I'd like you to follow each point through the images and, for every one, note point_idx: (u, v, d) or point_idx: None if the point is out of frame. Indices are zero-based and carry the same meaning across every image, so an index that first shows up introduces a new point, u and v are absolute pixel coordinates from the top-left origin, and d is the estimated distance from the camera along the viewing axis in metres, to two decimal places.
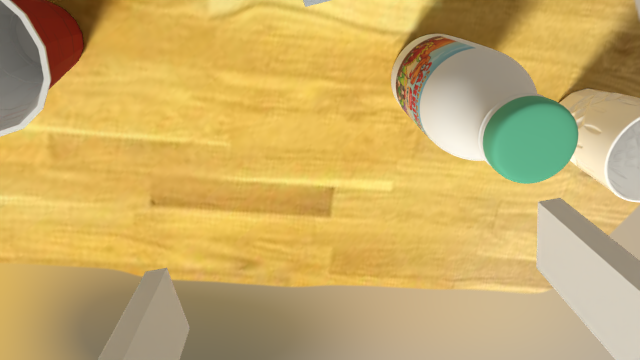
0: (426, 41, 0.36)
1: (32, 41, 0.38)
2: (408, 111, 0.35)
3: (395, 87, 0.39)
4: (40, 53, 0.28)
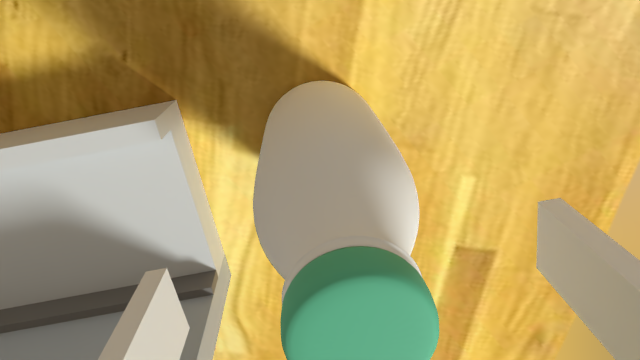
0: None
1: None
2: None
3: None
4: None
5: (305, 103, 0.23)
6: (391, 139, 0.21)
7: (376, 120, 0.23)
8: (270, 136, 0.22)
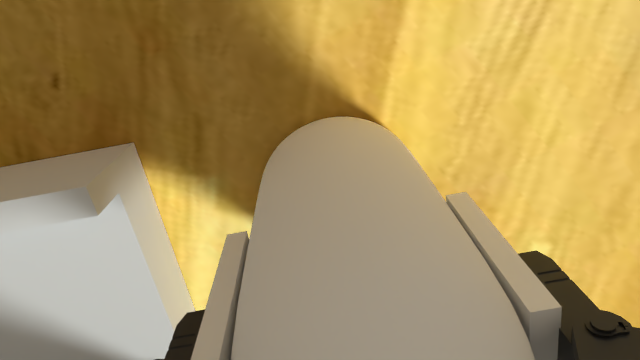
0: None
1: None
2: None
3: None
4: None
5: (321, 167, 0.14)
6: (470, 239, 0.12)
7: (438, 197, 0.14)
8: (264, 227, 0.13)
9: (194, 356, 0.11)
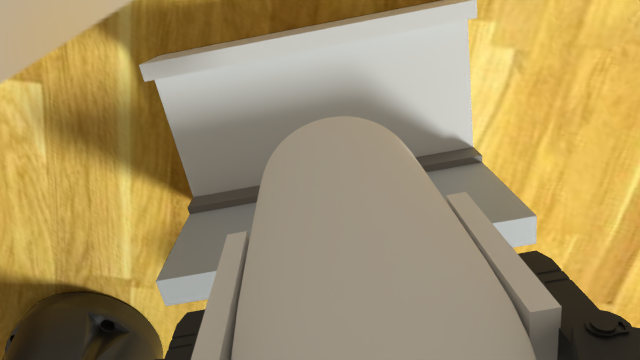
0: None
1: None
2: None
3: None
4: None
5: (322, 166, 0.14)
6: (471, 239, 0.12)
7: (439, 197, 0.14)
8: (264, 227, 0.13)
9: (194, 356, 0.11)
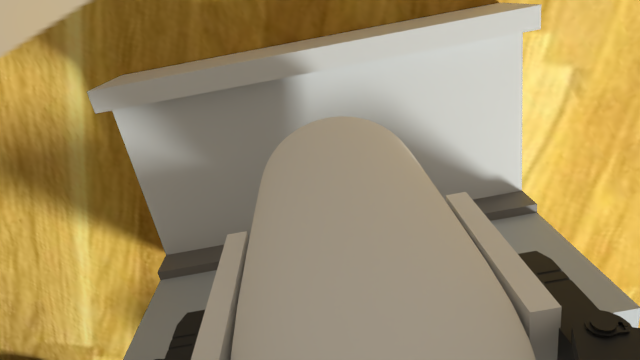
0: None
1: None
2: None
3: None
4: None
5: (321, 167, 0.14)
6: (471, 240, 0.12)
7: (438, 197, 0.14)
8: (264, 227, 0.13)
9: (194, 356, 0.11)
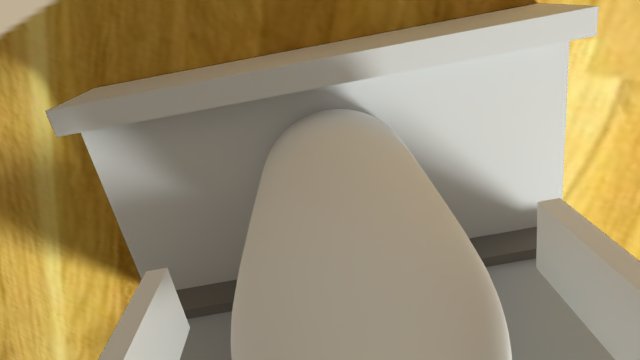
0: None
1: None
2: None
3: None
4: None
5: (317, 149, 0.16)
6: (451, 212, 0.14)
7: (424, 177, 0.15)
8: (264, 202, 0.15)
9: None
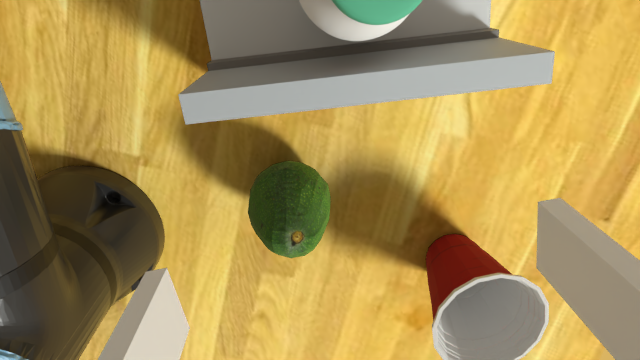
0: None
1: None
2: None
3: None
4: (503, 277, 0.38)
5: None
6: None
7: None
8: None
9: None
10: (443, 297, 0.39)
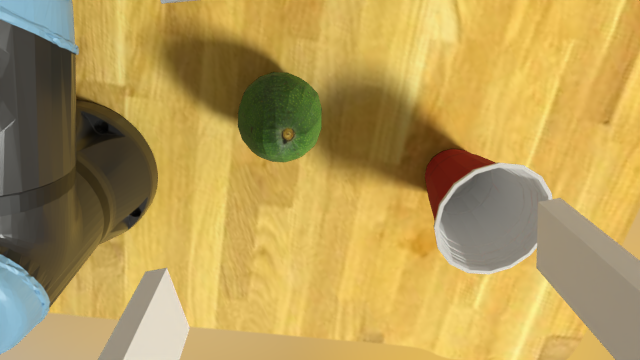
0: None
1: None
2: None
3: None
4: (503, 166, 0.37)
5: None
6: None
7: None
8: None
9: None
10: (443, 196, 0.39)
